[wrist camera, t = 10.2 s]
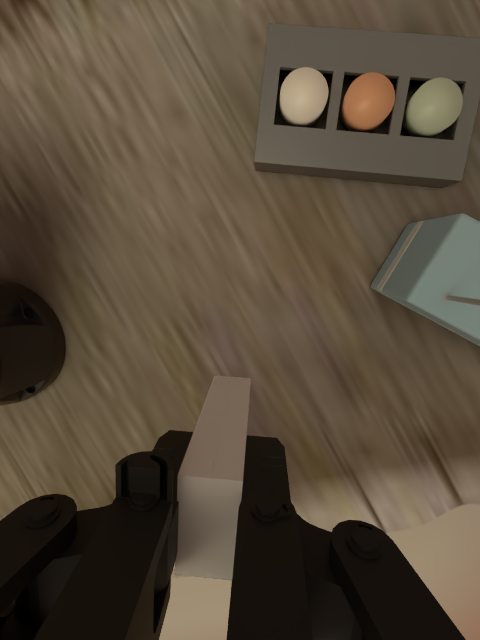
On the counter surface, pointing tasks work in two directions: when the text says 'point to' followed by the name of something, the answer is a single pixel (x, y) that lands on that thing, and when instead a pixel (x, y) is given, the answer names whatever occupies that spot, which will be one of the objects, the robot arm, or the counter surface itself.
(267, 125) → the grey piece
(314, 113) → the button ivory
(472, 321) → the radio
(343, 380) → the counter surface
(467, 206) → the counter surface
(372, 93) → the button terracotta
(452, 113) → the button sage
